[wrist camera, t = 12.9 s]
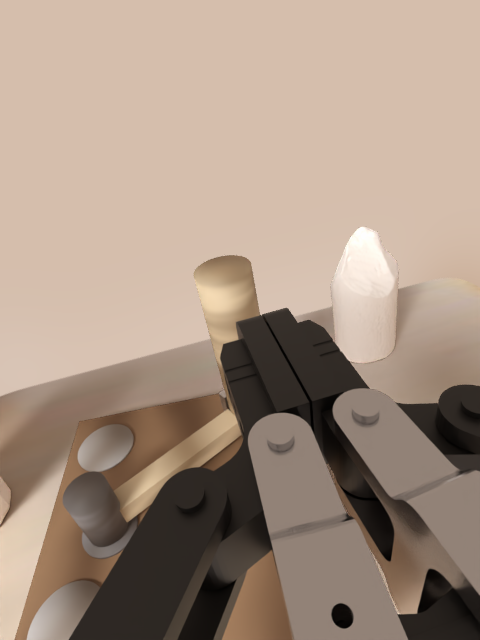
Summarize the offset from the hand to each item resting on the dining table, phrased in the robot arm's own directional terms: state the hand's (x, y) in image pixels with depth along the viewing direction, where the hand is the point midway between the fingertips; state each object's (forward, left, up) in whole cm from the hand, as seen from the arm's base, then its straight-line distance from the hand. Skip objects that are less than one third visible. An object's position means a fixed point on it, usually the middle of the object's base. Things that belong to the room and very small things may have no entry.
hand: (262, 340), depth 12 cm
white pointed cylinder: (+11, +21, -20) cm, 31 cm away
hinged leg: (-6, +9, -17) cm, 20 cm away
